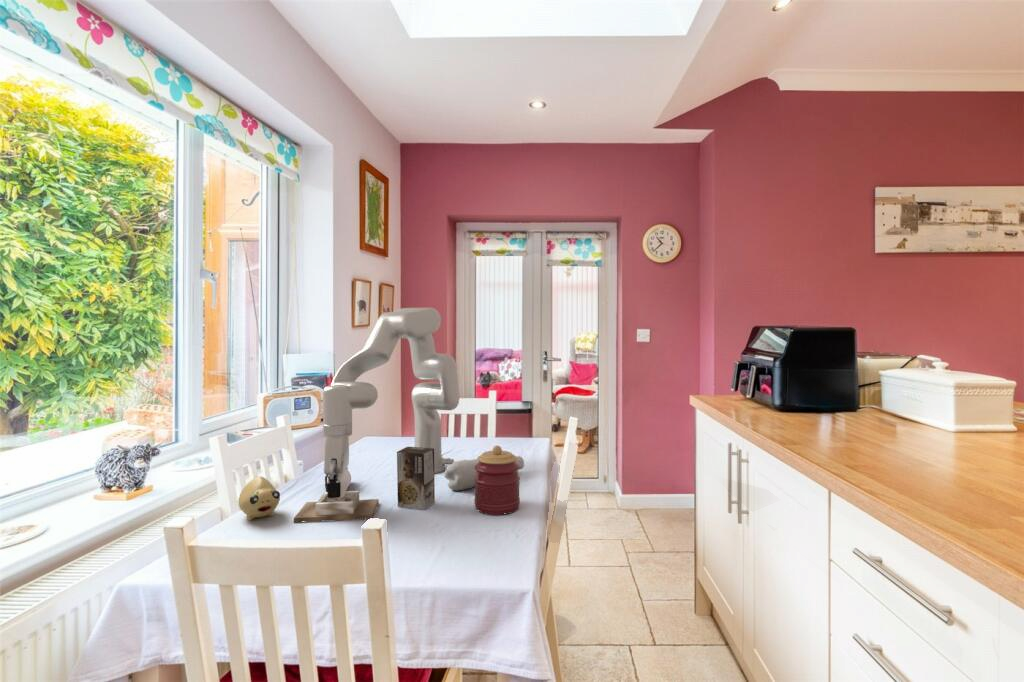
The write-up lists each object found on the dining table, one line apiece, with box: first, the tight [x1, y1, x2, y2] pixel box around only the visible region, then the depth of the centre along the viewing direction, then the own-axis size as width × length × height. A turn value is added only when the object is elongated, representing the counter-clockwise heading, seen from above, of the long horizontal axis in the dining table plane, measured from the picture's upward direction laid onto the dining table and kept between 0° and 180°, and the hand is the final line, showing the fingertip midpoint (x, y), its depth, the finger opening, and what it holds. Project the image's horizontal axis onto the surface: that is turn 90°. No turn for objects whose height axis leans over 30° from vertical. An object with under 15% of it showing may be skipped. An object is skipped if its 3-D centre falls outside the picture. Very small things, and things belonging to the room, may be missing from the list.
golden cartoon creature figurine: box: [238, 476, 281, 521], centre depth 131 cm, size 10×12×11 cm
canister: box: [473, 445, 521, 515], centre depth 138 cm, size 13×13×18 cm
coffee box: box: [396, 446, 436, 511], centre depth 140 cm, size 9×6×16 cm
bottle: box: [444, 455, 525, 492], centre depth 162 cm, size 9×9×30 cm
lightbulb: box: [327, 469, 352, 502], centre depth 135 cm, size 6×6×11 cm
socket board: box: [293, 490, 380, 523], centre depth 135 cm, size 20×12×4 cm, turn 98°
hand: (338, 491), depth 135 cm, fingers open, 9 cm apart
